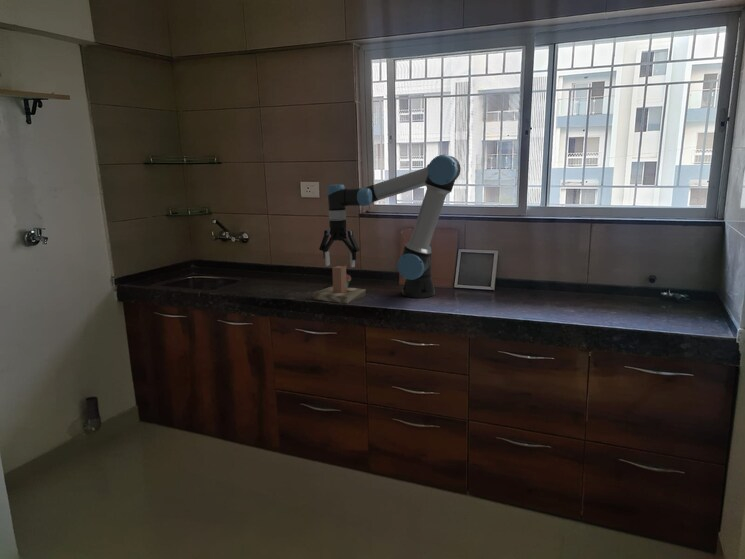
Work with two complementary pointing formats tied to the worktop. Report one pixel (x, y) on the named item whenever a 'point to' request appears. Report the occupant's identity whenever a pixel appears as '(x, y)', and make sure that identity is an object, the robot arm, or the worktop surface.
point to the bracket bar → (339, 279)
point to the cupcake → (347, 278)
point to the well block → (339, 295)
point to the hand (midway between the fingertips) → (340, 266)
